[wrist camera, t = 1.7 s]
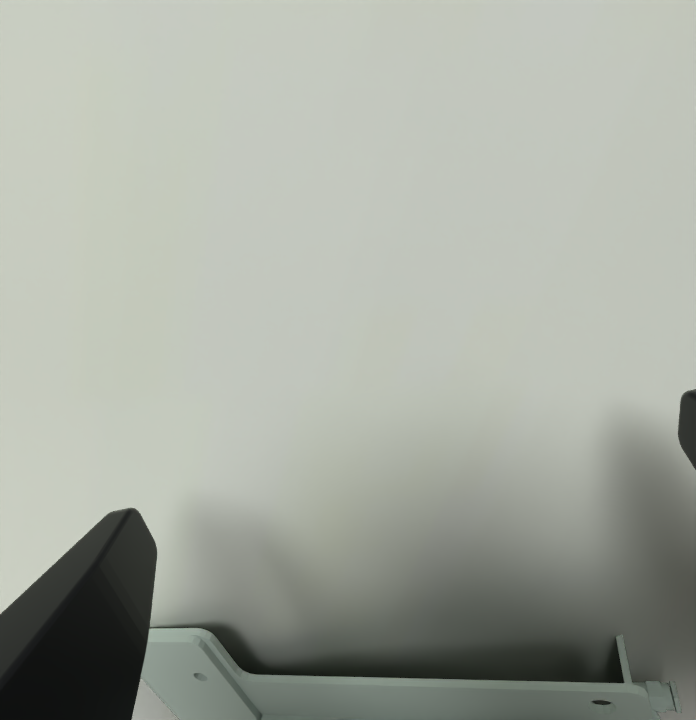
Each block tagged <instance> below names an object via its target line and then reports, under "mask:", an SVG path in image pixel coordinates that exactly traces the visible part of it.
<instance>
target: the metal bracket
mask: <svg viewBox="0 0 696 720" xmlns="http://www.w3.org/2000/svg"><path fill="white" fill-rule="evenodd" d="M616 640H617V646H618V651H619V656H620V662H621V667H622V672H623V677H624V683H588V682H545V681H503V680H461V679H418V678H376V677H334V676H291V675H255V674H250V673H247V672H245V671H243V670H242V669H241V668H239V667H238V666H237V664H236V663H235V662H234V660H233V659H232V658H231V656H230V655H229V654H228V652H227V651H226V650H225V648H224V647H223V646H222V644H221V643H220V642H219V640H218V639H217V638H216V637H215V636H214V635H213V634H212V633H211V632H209V631H207V630H204V629H201V628H152V629H149V635H148V643H147V648H146V653H145V659H144V663H143V668H142V673H141V678H142V679H143V680H144V681H145V682H146V683H147V685H148V686H149V687H150V688H151V689H152V690H153V691H154V692H155V693H156V694H157V696H158V697H159V698H160V699H161V700H162V701H163V702H164V703H165V704H166V705H167V707H168V708H169V709H170V710H171V711H172V712H173V713H174V714H175V715H176V716H177V718H178V719H179V720H661V719H660V717H659V715H658V714H657V713H656V712H666V710H674V707H675V711H676V712H677V713H682V712H681V707H680V702H679V697H678V693H677V689H676V685H675V682H670V681H669V684H670V687H669V684H668V683H660V681H645V682H646V683H643V682H632V680H631V675H630V670H629V665H628V660H627V655H626V650H625V645H624V640H623V635H620V636H616ZM596 700H604V701H609V702H611V704H608V705H599V704H595V703H592V701H596Z"/></svg>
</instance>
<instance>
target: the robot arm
mask: <svg viewBox="0 0 696 720" xmlns="http://www.w3.org/2000/svg"><path fill="white" fill-rule="evenodd" d="M678 438H679V442H680V444H681V447H682V449H683V450H684V452H685V454H686V455H687V457H688V458H689V460H690V462H691V463H692V465H693V466H694V468H695V470H696V389H694V390H690V391H687V392H685V393H684V394H683V395H682V397H681V402H680V414H679V426H678ZM156 561H157V548H156V544H155V541H154V539H153V537H152V535H151V533H150V531H149V529H148V528H147V526H146V524H145V522H144V520H143V518H142V516H141V514H140V513H139V511H138V510H136V509H135V508H127V509H122V510H117V511H113V512H110V513H109V514H107V515H106V516H105V517H104V518H103V519H102V520H101V521H100V522H99V523H98V524H97V525H95V526H94V527H93V528H92V529H91V530H90V531H89V532H88V533H87V534H86V535H85V536H84V537H83V538H82V539H80V540H79V541H78V542H77V543H76V544H75V545H74V546H73V547H72V548H71V549H70V550H69V551H68V552H67V553H65V554H64V555H63V556H62V557H61V558H60V559H59V560H58V561H57V562H56V563H55V564H54V565H53V566H52V567H50V568H49V569H48V570H47V571H46V572H45V573H44V574H43V575H42V576H41V577H40V578H39V579H38V580H37V581H36V582H34V583H33V584H32V585H31V586H30V587H29V588H28V589H27V590H26V591H25V592H24V593H23V594H22V595H21V596H19V597H18V598H17V599H16V600H15V601H14V602H13V603H12V604H11V605H10V606H9V607H8V608H7V609H6V610H4V611H3V612H2V613H1V614H0V720H131V719H132V714H133V710H134V705H135V701H136V696H137V691H138V687H139V682H140V677H141V673H142V668H143V663H144V659H145V653H146V648H147V643H148V635H149V628H150V618H151V609H152V599H153V590H154V580H155V571H156Z"/></svg>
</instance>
